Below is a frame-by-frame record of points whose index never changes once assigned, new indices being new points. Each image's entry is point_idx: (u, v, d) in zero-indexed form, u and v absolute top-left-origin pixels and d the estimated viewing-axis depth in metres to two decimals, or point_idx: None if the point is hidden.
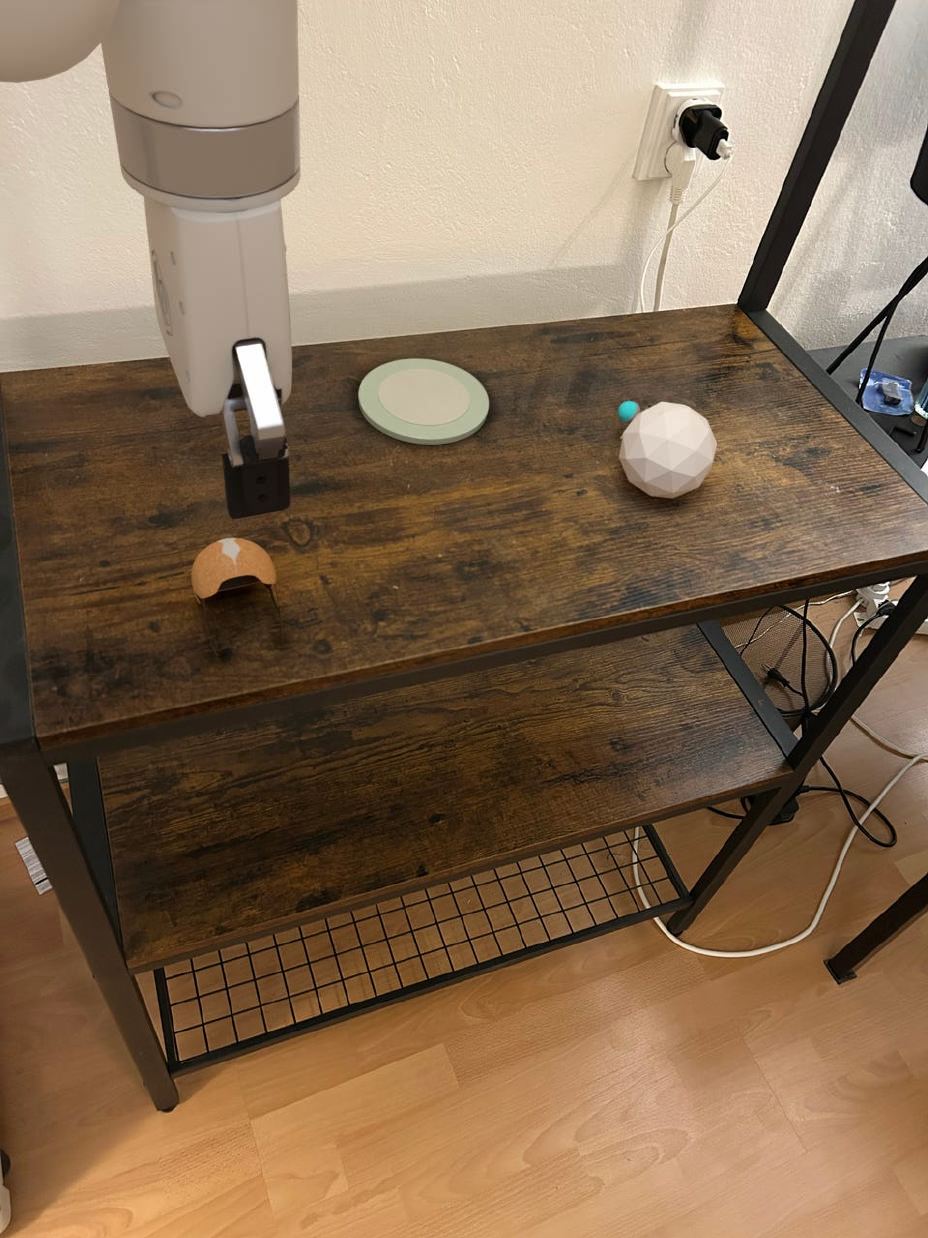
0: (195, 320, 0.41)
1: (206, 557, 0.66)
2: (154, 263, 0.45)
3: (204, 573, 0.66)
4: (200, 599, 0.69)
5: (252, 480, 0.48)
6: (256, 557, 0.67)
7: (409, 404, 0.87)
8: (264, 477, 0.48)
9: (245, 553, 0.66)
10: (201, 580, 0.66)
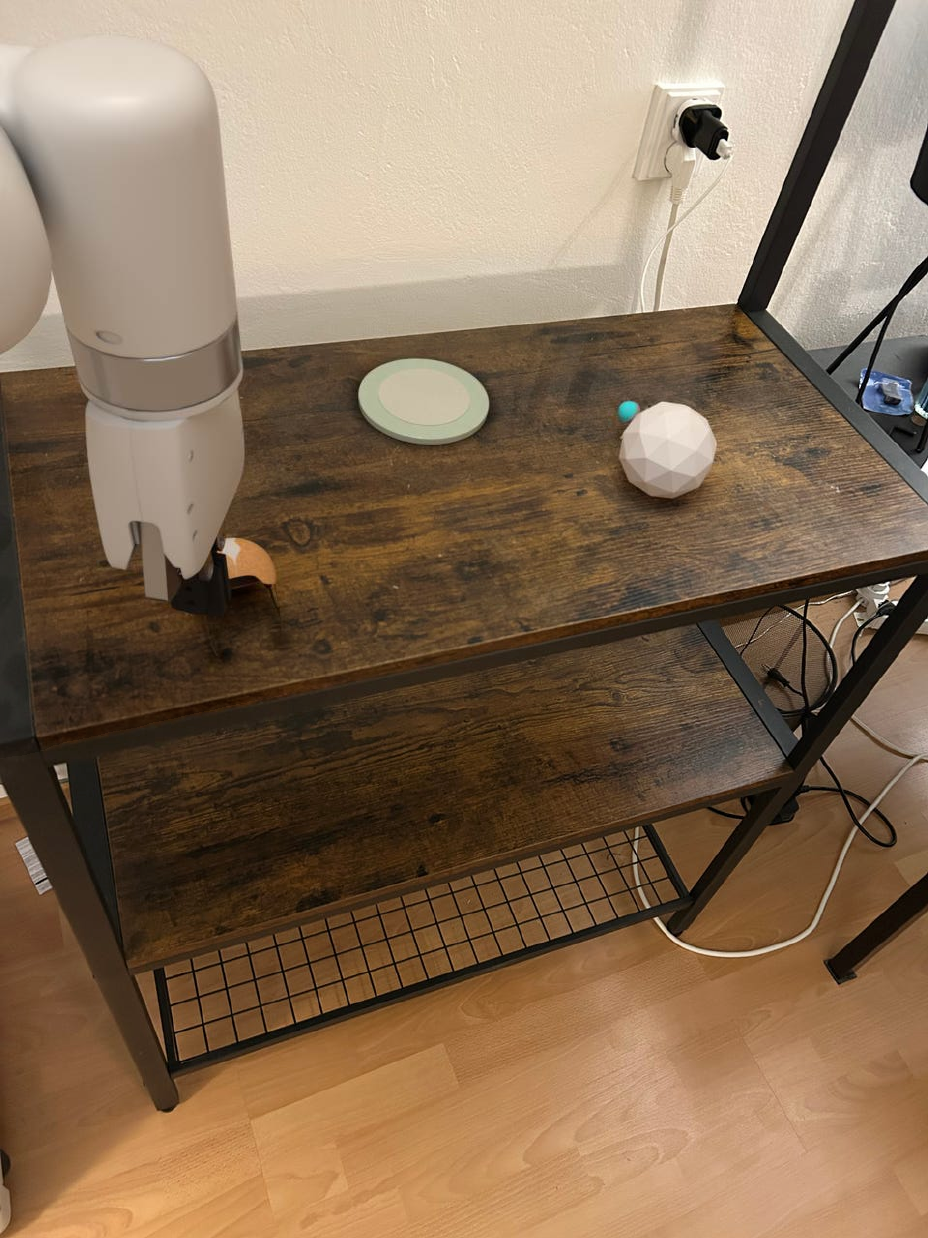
0: (97, 495, 0.46)
1: None
2: None
3: None
4: None
5: (180, 587, 0.56)
6: (256, 557, 0.67)
7: (409, 404, 0.87)
8: (192, 588, 0.56)
9: (245, 553, 0.66)
10: None
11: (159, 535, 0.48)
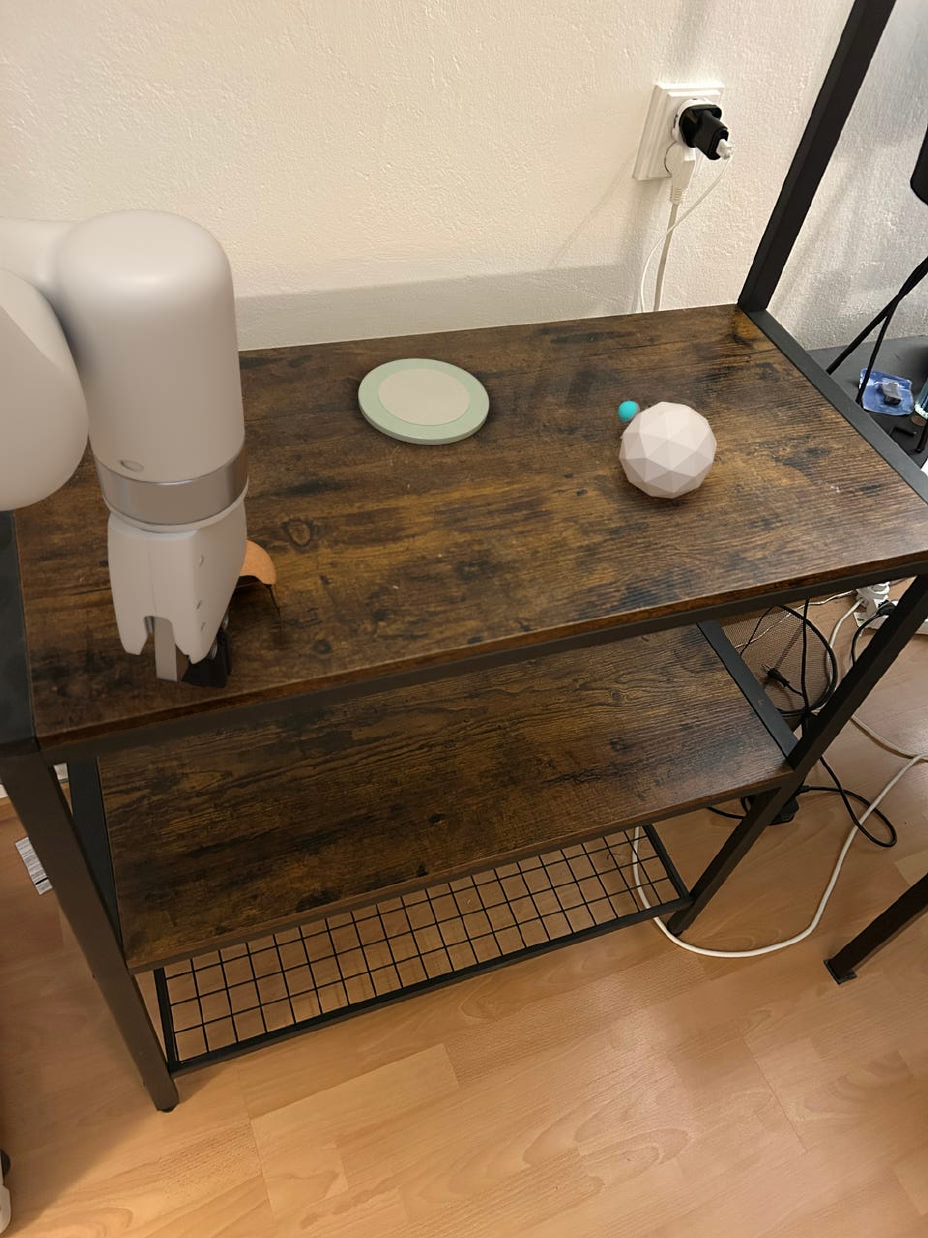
0: (115, 593, 0.51)
1: None
2: None
3: None
4: None
5: None
6: (256, 557, 0.67)
7: (409, 404, 0.87)
8: (197, 664, 0.61)
9: None
10: None
11: (170, 626, 0.53)
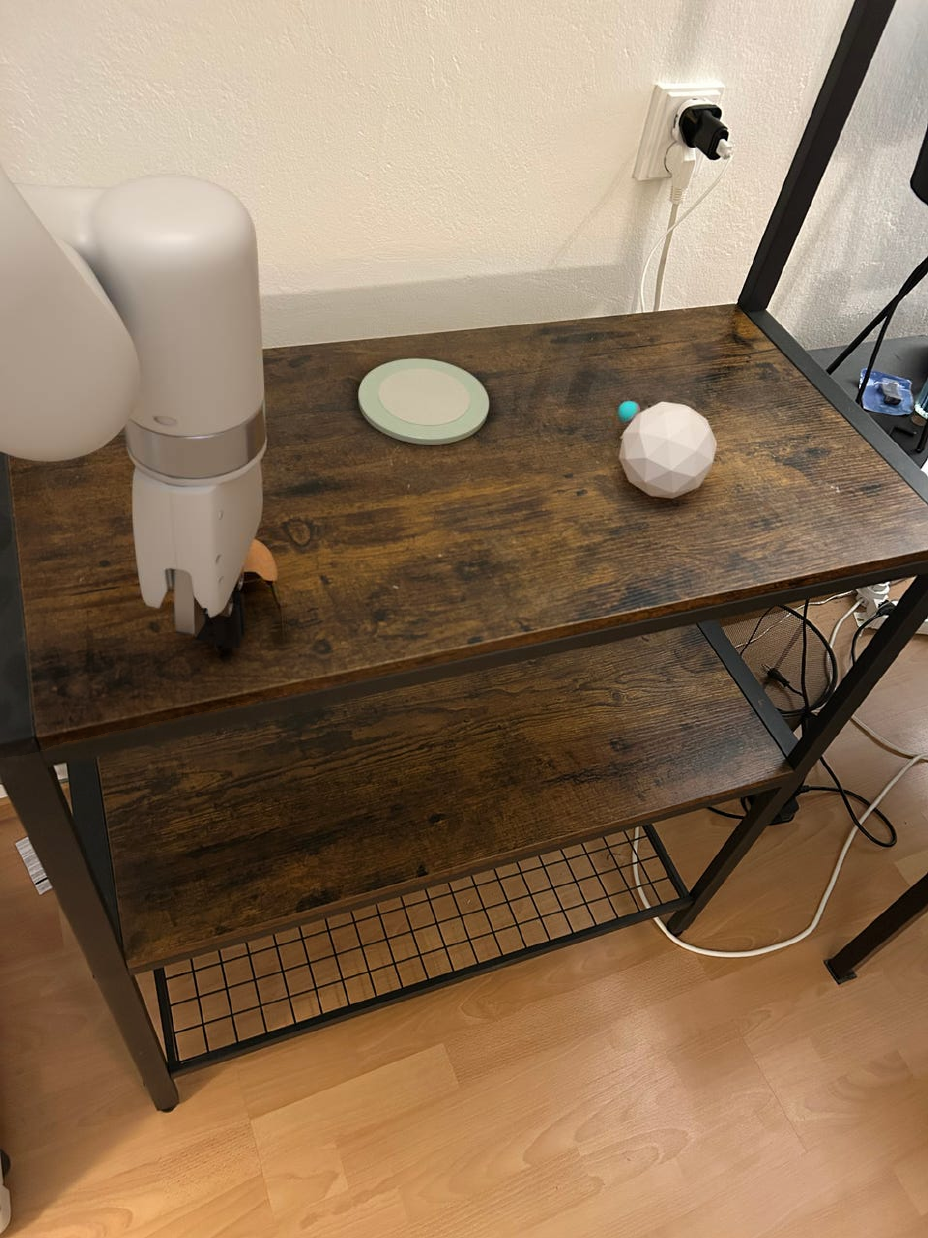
0: (138, 546, 0.54)
1: None
2: None
3: None
4: None
5: None
6: (257, 554, 0.67)
7: (409, 404, 0.87)
8: (213, 622, 0.63)
9: None
10: None
11: (190, 580, 0.56)
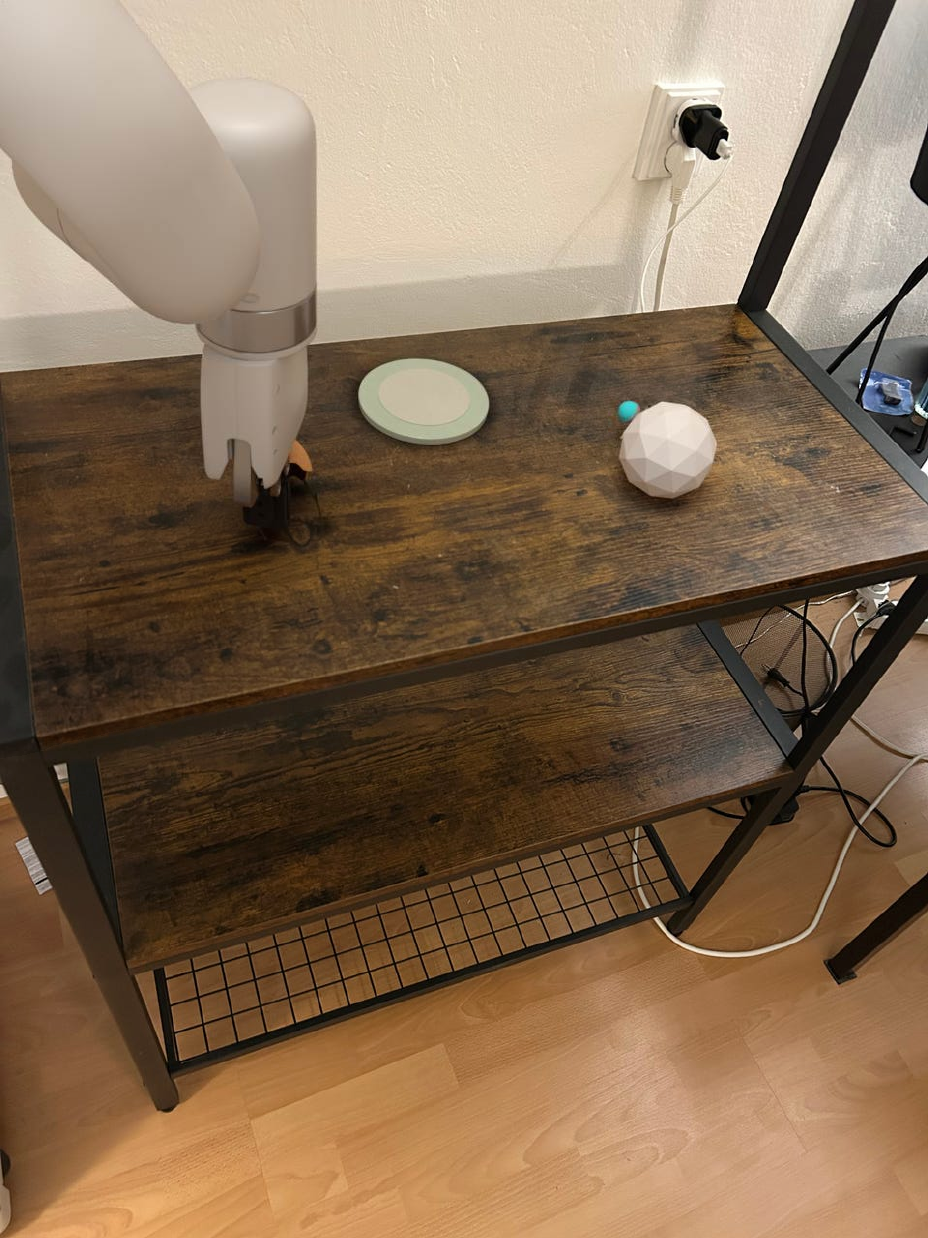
0: (205, 417, 0.61)
1: None
2: None
3: None
4: None
5: None
6: (295, 447, 0.75)
7: (409, 404, 0.87)
8: (263, 503, 0.71)
9: None
10: None
11: (248, 452, 0.63)
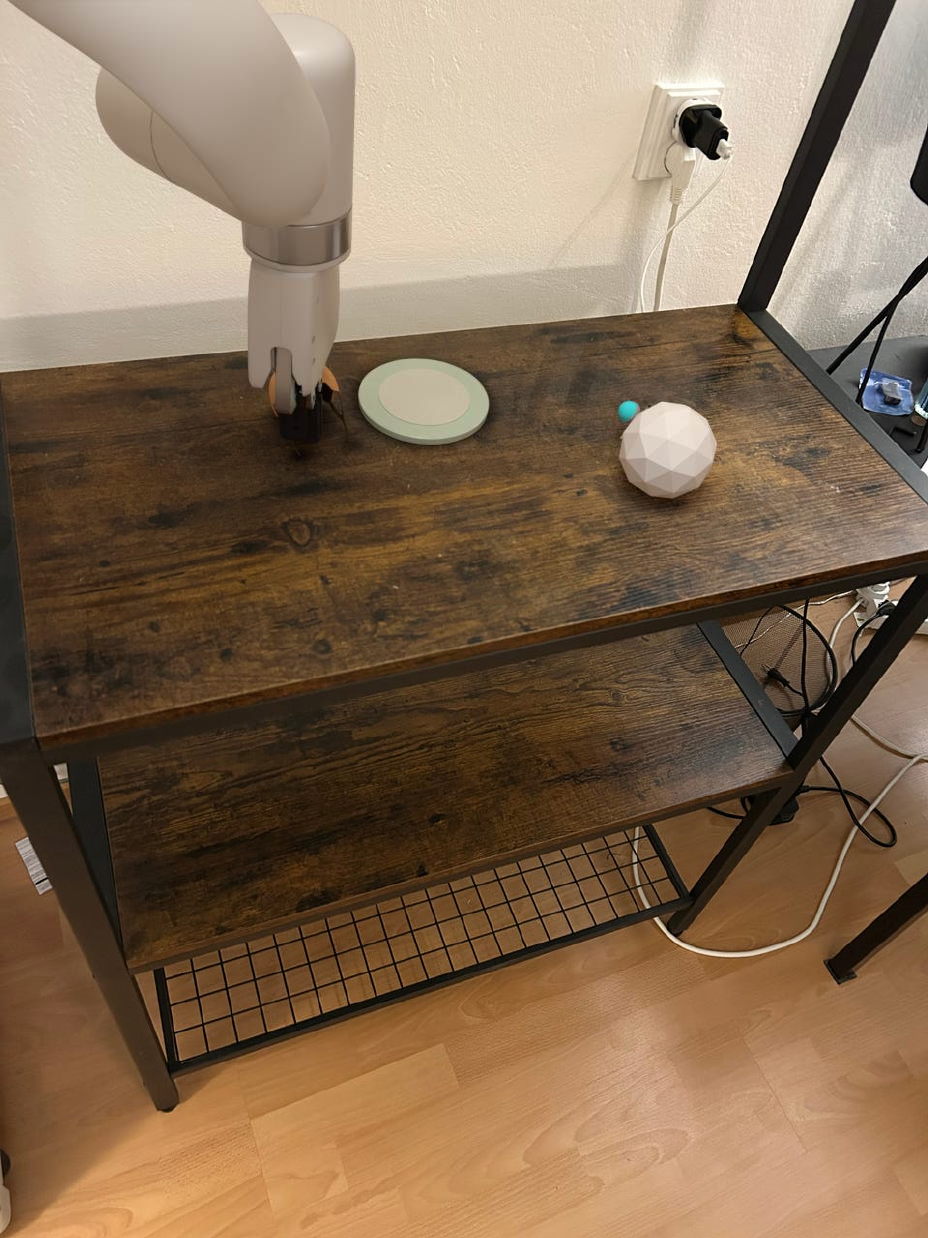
0: (251, 327, 0.68)
1: None
2: None
3: None
4: (277, 412, 0.83)
5: (290, 415, 0.77)
6: (324, 369, 0.81)
7: (409, 404, 0.87)
8: (298, 416, 0.77)
9: None
10: None
11: (289, 360, 0.70)
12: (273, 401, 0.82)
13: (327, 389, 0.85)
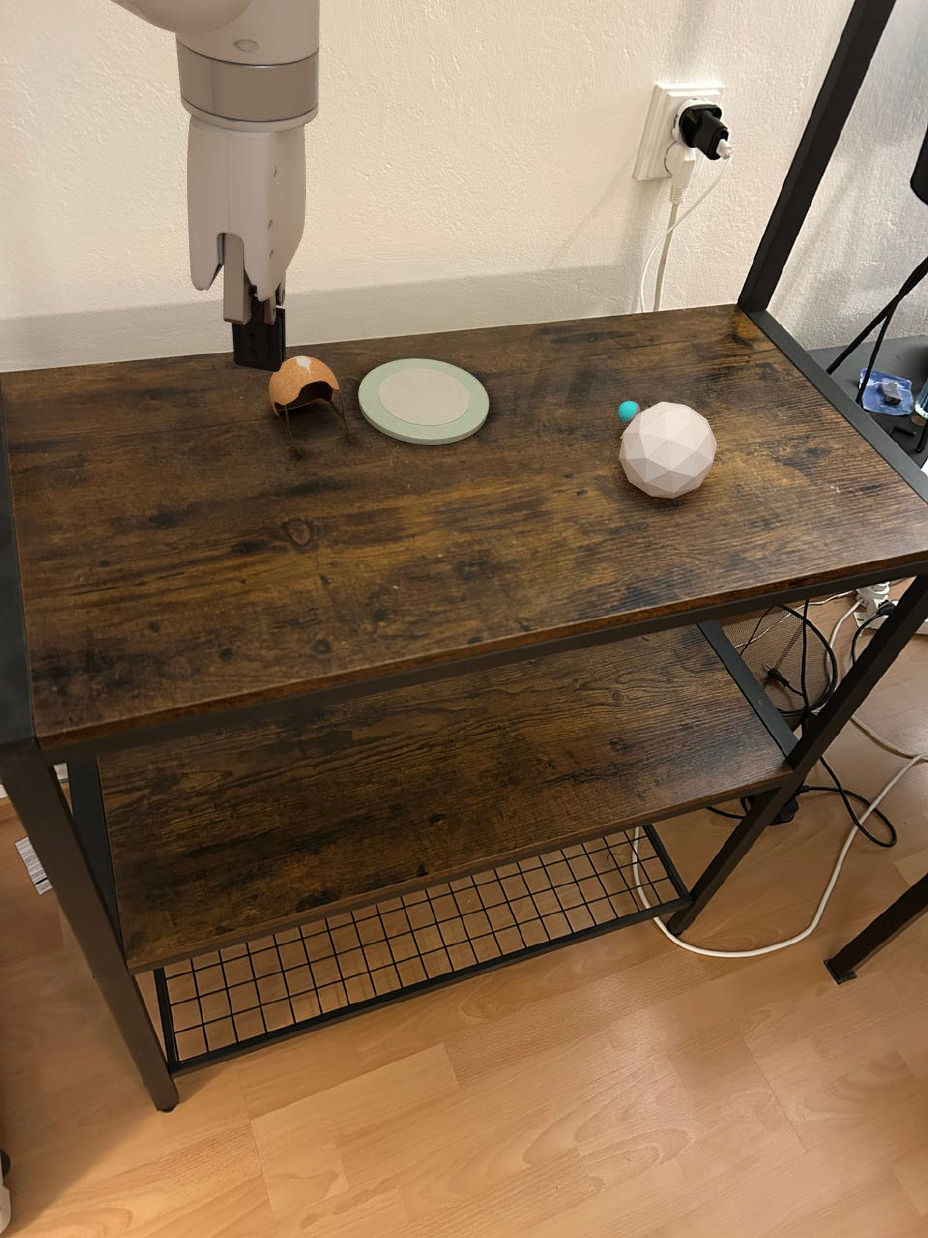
0: (192, 206, 0.54)
1: (284, 370, 0.81)
2: None
3: (285, 383, 0.80)
4: (278, 411, 0.83)
5: (245, 333, 0.63)
6: (324, 367, 0.82)
7: (409, 404, 0.87)
8: (255, 335, 0.63)
9: (315, 364, 0.81)
10: (282, 389, 0.81)
11: (240, 253, 0.56)
12: (273, 400, 0.82)
13: (327, 388, 0.85)
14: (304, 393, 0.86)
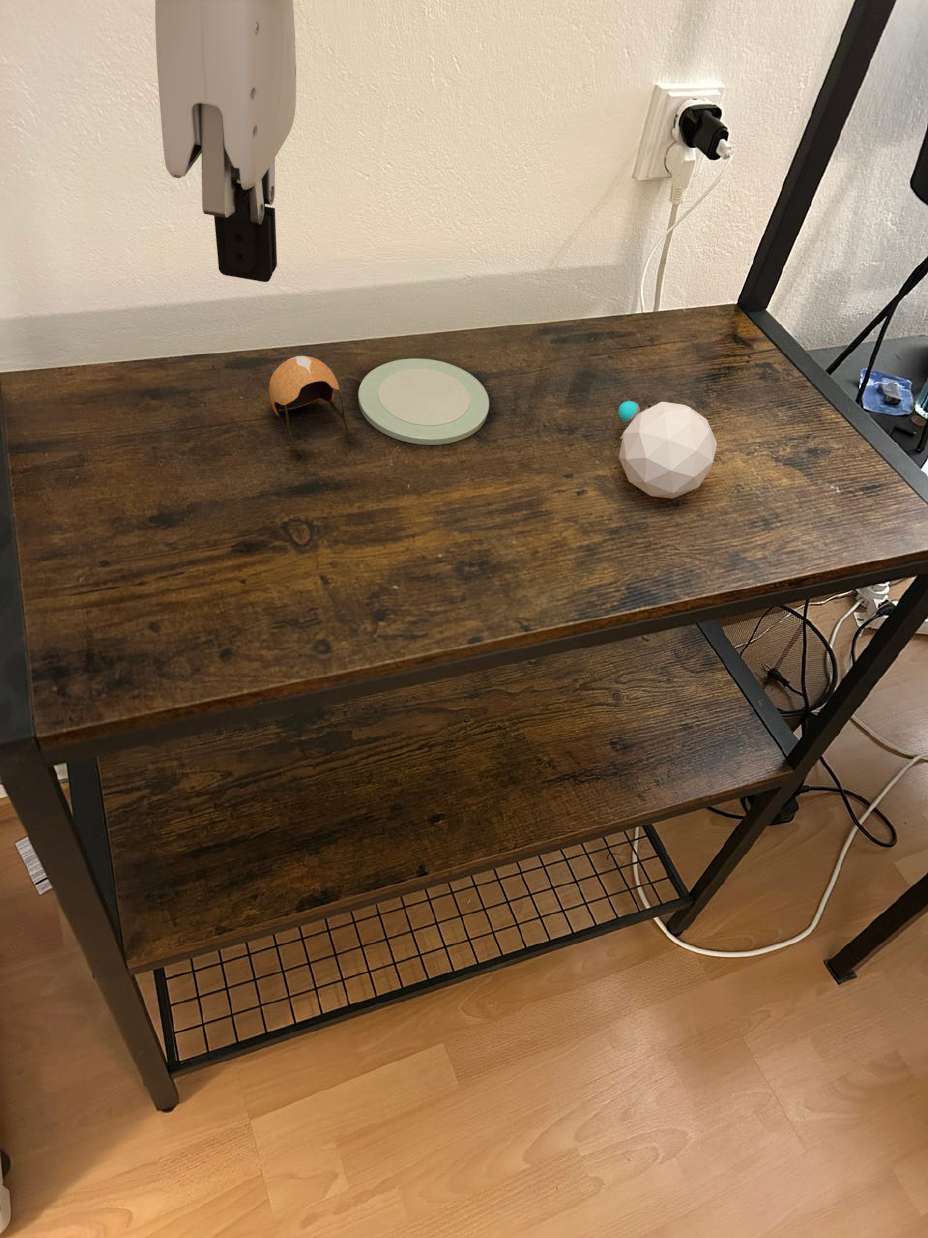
0: (162, 71, 0.47)
1: (284, 370, 0.81)
2: None
3: (285, 383, 0.80)
4: (278, 411, 0.83)
5: (230, 235, 0.56)
6: (324, 367, 0.82)
7: (409, 404, 0.87)
8: (242, 237, 0.57)
9: (315, 364, 0.81)
10: (283, 389, 0.81)
11: (220, 130, 0.49)
12: (273, 400, 0.82)
13: (327, 388, 0.85)
14: (304, 393, 0.86)
